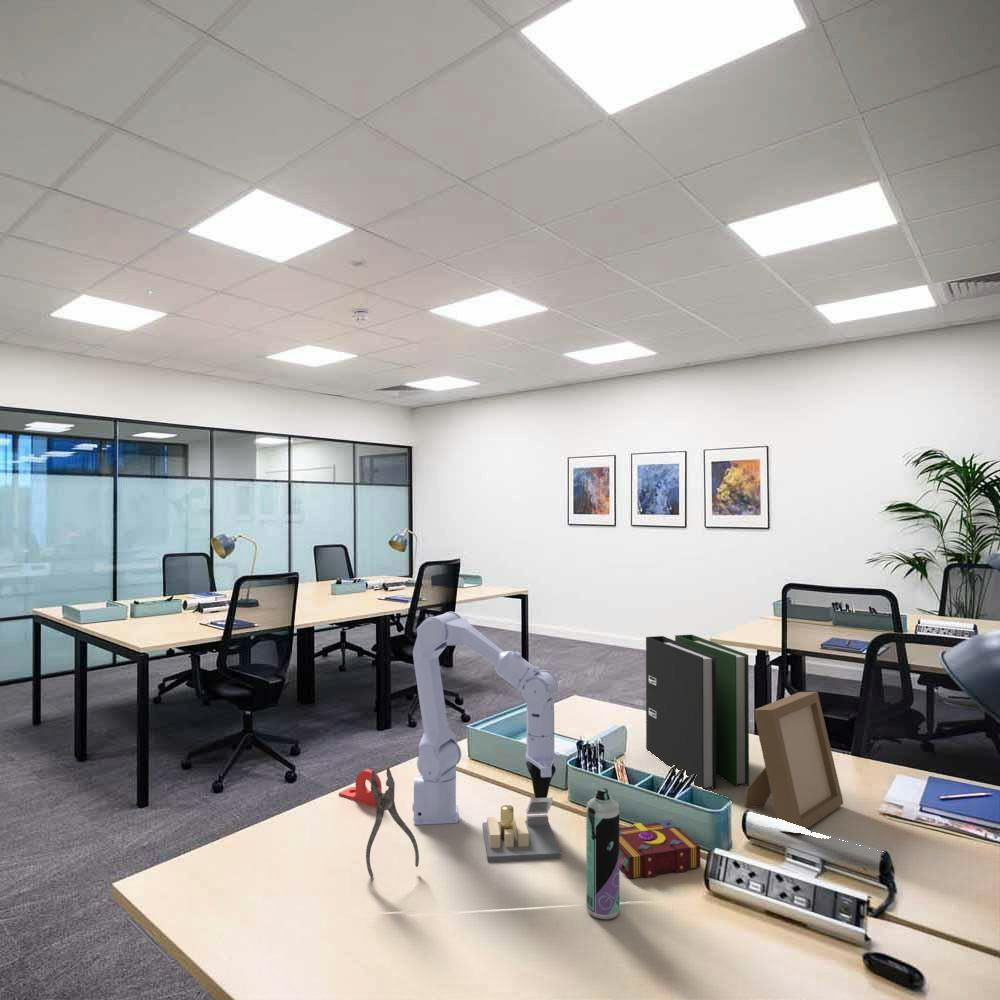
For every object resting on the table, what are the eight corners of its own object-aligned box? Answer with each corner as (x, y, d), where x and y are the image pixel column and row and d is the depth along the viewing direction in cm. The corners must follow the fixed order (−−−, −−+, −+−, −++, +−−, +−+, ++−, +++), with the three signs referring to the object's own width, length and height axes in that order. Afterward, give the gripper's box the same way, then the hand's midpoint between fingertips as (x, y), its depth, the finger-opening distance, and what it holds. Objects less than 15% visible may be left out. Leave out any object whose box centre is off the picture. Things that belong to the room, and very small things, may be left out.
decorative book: (702, 870, 125) (701, 843, 126) (623, 883, 121) (623, 855, 121) (670, 841, 136) (670, 816, 136) (597, 852, 132) (597, 827, 132)
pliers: (417, 874, 124) (424, 765, 125) (418, 876, 123) (424, 767, 124) (364, 876, 122) (371, 766, 123) (364, 879, 122) (371, 767, 122)
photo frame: (843, 807, 151) (842, 696, 151) (799, 839, 137) (798, 716, 137) (779, 787, 162) (779, 683, 163) (732, 814, 148) (732, 700, 148)
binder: (751, 787, 162) (751, 654, 163) (697, 793, 159) (696, 658, 159) (692, 748, 189) (691, 634, 189) (644, 753, 185) (643, 637, 185)
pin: (501, 841, 134) (501, 810, 134) (499, 834, 136) (499, 805, 136) (514, 840, 134) (514, 810, 134) (512, 834, 137) (512, 804, 137)
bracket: (391, 802, 154) (391, 767, 154) (378, 809, 150) (378, 774, 150) (352, 790, 160) (352, 757, 160) (338, 797, 156) (339, 763, 157)
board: (487, 861, 128) (487, 843, 128) (482, 827, 142) (482, 810, 142) (560, 858, 129) (560, 839, 129) (547, 824, 143) (547, 807, 143)
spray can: (611, 923, 109) (611, 799, 109) (581, 912, 112) (581, 791, 112) (624, 906, 113) (624, 787, 114) (594, 896, 116) (594, 780, 117)
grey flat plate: (531, 802, 135) (530, 797, 136) (526, 814, 141) (526, 809, 142) (552, 801, 136) (552, 796, 136) (547, 814, 142) (546, 809, 143)
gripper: (566, 743, 131) (566, 814, 131) (553, 720, 145) (553, 783, 145) (530, 745, 130) (531, 815, 130) (521, 721, 145) (521, 785, 144)
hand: (540, 799), depth 137 cm, fingers closed
